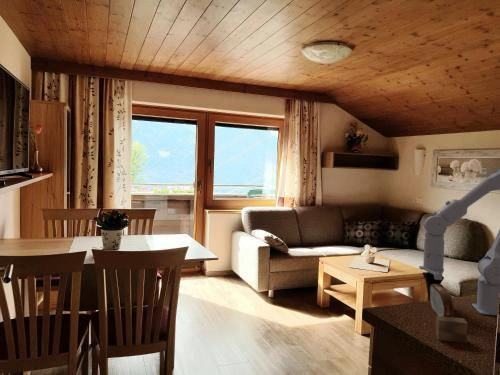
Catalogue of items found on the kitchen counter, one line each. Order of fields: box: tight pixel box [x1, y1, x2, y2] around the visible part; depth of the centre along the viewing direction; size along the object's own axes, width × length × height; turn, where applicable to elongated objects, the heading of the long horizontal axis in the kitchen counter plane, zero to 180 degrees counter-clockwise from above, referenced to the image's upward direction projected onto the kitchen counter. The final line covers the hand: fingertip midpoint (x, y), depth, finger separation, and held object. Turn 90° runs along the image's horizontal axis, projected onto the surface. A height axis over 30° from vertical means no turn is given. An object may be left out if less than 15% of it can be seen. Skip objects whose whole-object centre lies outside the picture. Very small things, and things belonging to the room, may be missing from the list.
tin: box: [429, 283, 455, 318], centre depth 110 cm, size 15×3×8 cm, turn 168°
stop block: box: [435, 315, 468, 344], centre depth 94 cm, size 6×3×5 cm, turn 77°
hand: (432, 296), depth 120 cm, fingers closed
